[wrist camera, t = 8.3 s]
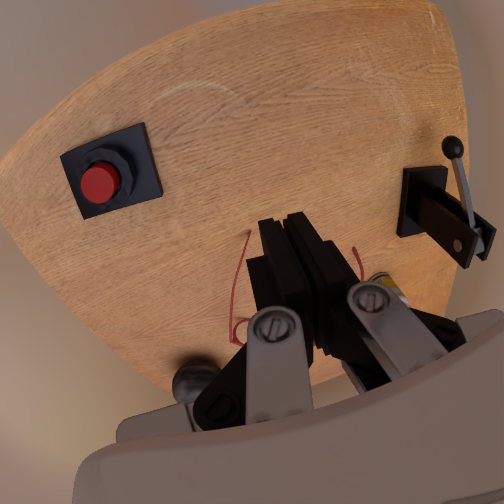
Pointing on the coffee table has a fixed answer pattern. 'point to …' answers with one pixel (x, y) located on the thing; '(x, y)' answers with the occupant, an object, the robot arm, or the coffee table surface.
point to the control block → (124, 161)
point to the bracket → (439, 215)
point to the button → (100, 182)
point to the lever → (462, 185)
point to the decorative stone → (193, 380)
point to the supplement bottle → (390, 285)
